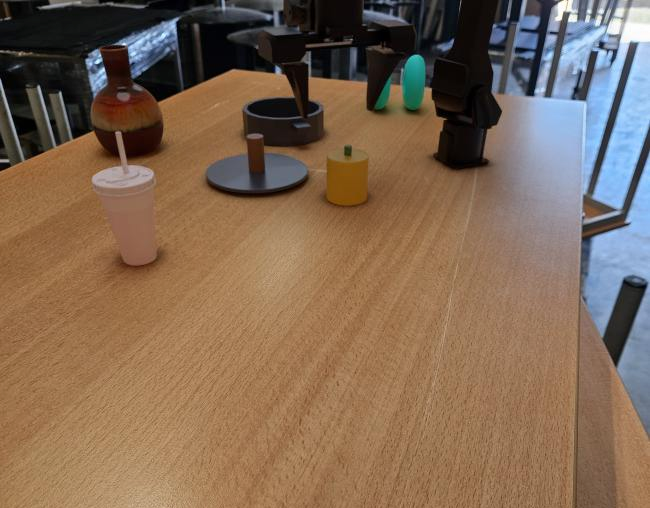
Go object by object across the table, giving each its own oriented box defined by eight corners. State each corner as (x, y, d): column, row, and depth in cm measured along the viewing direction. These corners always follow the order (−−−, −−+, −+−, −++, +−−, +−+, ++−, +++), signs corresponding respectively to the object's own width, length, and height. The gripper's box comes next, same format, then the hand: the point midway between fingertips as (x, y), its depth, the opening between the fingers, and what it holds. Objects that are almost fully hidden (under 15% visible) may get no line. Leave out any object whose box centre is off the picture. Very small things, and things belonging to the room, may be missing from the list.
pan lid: (286, 154, 93) (285, 116, 90) (323, 187, 82) (324, 145, 78) (195, 167, 88) (190, 127, 85) (222, 204, 77) (217, 160, 74)
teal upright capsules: (422, 116, 111) (428, 60, 105) (371, 115, 111) (374, 60, 105) (416, 102, 119) (421, 50, 113) (368, 101, 119) (371, 49, 113)
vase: (181, 145, 96) (166, 45, 87) (130, 165, 89) (109, 57, 80) (135, 134, 101) (117, 38, 92) (83, 152, 94) (58, 49, 85)
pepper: (355, 187, 82) (357, 137, 78) (373, 201, 78) (376, 149, 74) (320, 193, 80) (320, 142, 76) (336, 208, 76) (337, 155, 72)
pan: (300, 114, 112) (299, 90, 109) (342, 144, 97) (343, 117, 95) (230, 122, 107) (228, 97, 104) (264, 155, 93) (263, 127, 90)
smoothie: (180, 251, 66) (160, 129, 58) (144, 276, 62) (117, 148, 54) (136, 240, 69) (111, 121, 60) (98, 264, 64) (65, 138, 56)
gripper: (379, -36, 73) (373, 92, 83) (239, -31, 67) (249, 106, 77) (425, -29, 65) (412, 112, 74) (269, -22, 59) (277, 130, 68)
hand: (337, 114), depth 74 cm, fingers open, 9 cm apart
